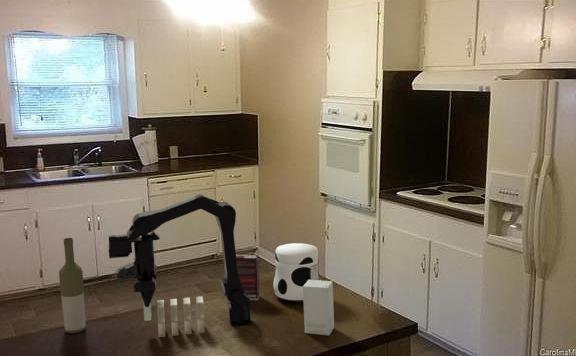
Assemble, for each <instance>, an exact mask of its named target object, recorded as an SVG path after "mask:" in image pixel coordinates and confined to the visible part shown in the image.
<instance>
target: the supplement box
mask: <svg viewBox="0 0 576 356" xmlns="http://www.w3.org/2000/svg"><path fill="white" fill-rule="evenodd" d="M236 260H237V269H238V275H239V278H240V280H241V283H242V286H243V290H244V291H245V292H246V294H247V295H248V297H249V298H250V299H251V301H258V300H259V298H260V272H259V271H260V270H259V268H260V267H259V254H237V253H236Z"/></svg>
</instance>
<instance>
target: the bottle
mask: <svg viewBox="0 0 576 356" xmlns="http://www.w3.org/2000/svg"><path fill="white" fill-rule="evenodd" d="M63 247H64V259H65V262H64V264H63V265H62V266H61V268H60V269H59V272H58V277H59V285H60V286H59V287H60V296H61V306H62V315H63V325H64V331H65V333H68V334H76V333H81V332H83V331H84V330H85V329H86V326H87V325H86V311H85V310H86V307H85V306H86V305H85V293H84V290H85V289H84V288H85V287H84V274H83V268H82V267H81V266H80V265H79V264H78V263H77V262H76V261H75V252H74V239H73V237H66V238H63Z"/></svg>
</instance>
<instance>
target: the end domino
mask: <svg viewBox="0 0 576 356" xmlns="http://www.w3.org/2000/svg"><path fill="white" fill-rule="evenodd" d="M195 302H196V303H195V304H196V305H195V306H196V326H197V328H196V329H197V334H202V333H204V334H205V333H206V332H205V331H206V330H205V313H204V312H205V310H204V309H205V307H204V297H203V296H200V295H199V296H195Z"/></svg>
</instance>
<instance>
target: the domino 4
mask: <svg viewBox="0 0 576 356" xmlns="http://www.w3.org/2000/svg"><path fill="white" fill-rule="evenodd" d="M190 298H191V297H182V301H183V319H184V320H183V321H184V322H183V323H184V334H185V335H192V332H193V331H192V313H191V299H190Z"/></svg>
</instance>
